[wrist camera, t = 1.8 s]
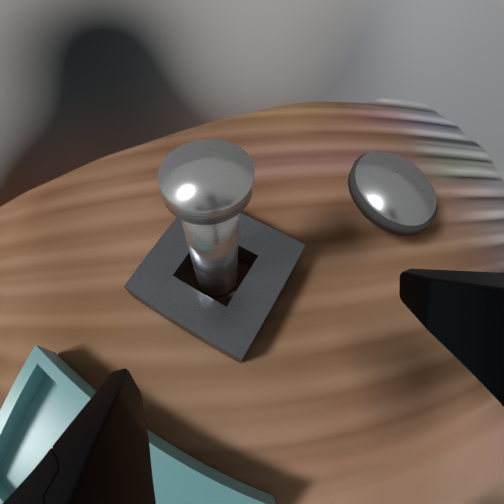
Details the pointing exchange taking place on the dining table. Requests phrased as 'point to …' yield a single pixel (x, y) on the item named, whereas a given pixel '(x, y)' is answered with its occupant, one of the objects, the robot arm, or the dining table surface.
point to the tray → (64, 412)
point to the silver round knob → (392, 193)
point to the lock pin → (209, 205)
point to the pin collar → (205, 308)
